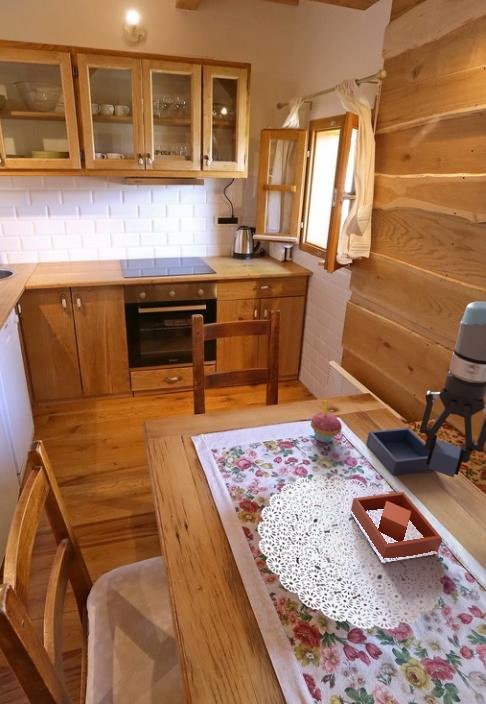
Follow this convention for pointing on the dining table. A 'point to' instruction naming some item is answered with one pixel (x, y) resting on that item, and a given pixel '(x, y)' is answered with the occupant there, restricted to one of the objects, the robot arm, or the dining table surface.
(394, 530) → the terracotta block
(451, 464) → the slate block
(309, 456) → the dining table surface
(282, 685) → the dining table surface
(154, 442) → the dining table surface
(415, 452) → the slate bin
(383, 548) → the terracotta bin
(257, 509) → the dining table surface
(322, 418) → the cupcake
